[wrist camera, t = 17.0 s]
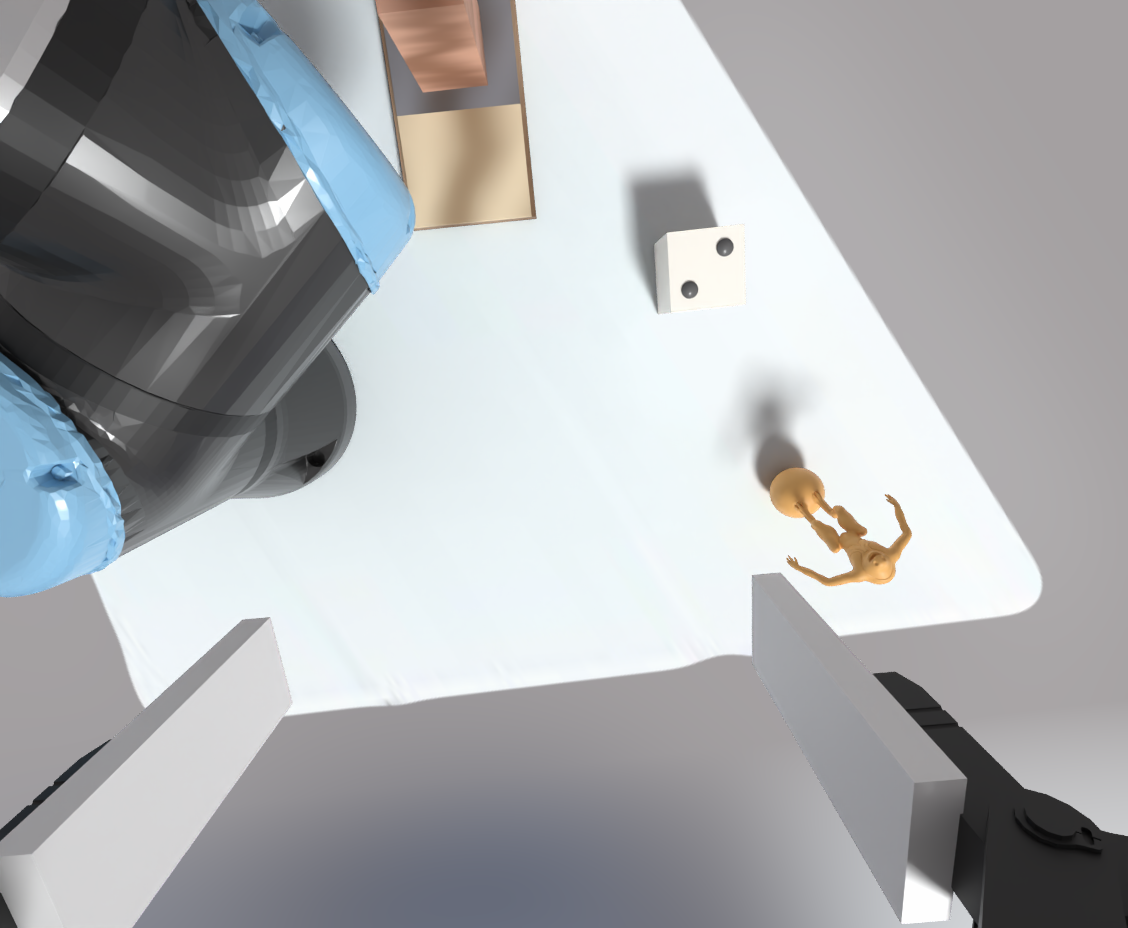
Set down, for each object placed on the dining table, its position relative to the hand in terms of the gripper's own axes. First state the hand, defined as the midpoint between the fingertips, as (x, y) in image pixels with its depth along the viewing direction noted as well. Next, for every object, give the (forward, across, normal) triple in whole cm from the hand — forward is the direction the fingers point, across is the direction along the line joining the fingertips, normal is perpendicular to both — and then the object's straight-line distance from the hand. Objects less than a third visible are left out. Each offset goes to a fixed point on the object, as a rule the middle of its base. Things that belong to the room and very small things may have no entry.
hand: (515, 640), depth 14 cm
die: (+29, +12, +11) cm, 33 cm away
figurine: (+29, +20, -7) cm, 36 cm away
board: (+29, -4, +26) cm, 39 cm away
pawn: (+28, -4, +26) cm, 38 cm away
